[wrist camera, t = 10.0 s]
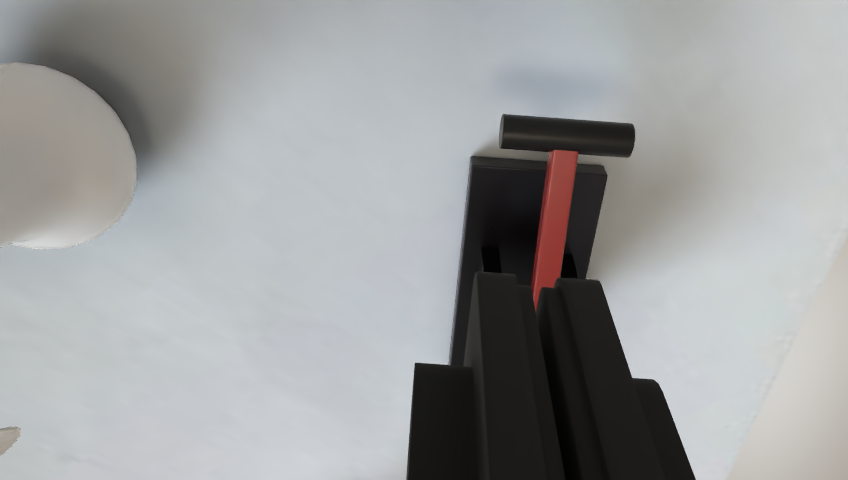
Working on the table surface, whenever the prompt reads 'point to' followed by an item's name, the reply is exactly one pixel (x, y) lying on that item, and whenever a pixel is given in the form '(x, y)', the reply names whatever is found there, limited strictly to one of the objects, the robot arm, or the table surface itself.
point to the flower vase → (58, 165)
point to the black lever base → (517, 228)
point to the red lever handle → (560, 175)
